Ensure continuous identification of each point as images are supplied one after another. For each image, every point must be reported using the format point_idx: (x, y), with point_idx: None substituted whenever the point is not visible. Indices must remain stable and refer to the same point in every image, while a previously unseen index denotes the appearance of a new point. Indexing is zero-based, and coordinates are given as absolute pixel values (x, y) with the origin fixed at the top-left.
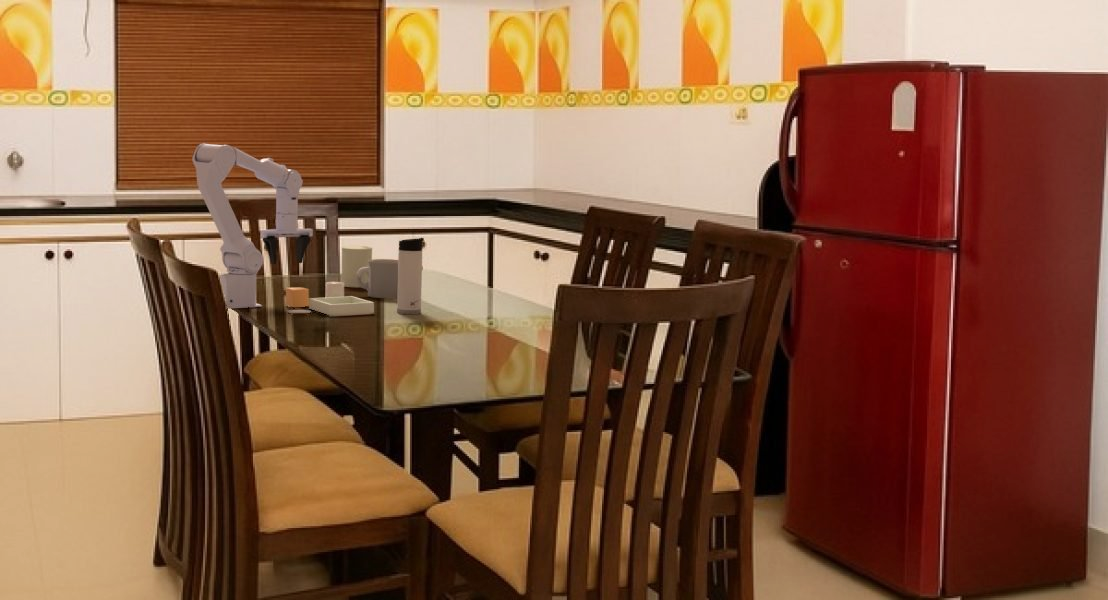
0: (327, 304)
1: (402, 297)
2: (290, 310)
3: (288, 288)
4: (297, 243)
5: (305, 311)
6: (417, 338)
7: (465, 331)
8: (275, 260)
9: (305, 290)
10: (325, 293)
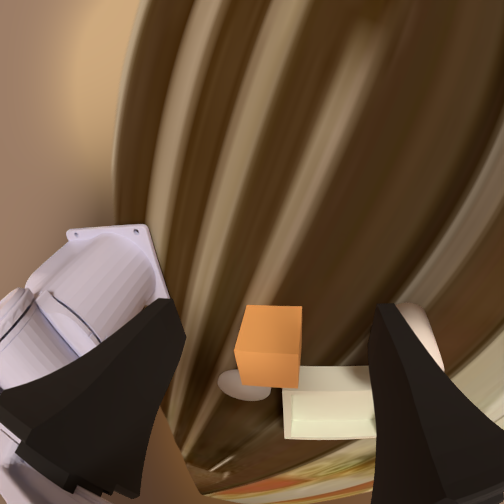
0: (284, 433)
1: None
2: (227, 376)
3: (238, 361)
4: (408, 455)
5: (256, 392)
6: (305, 480)
7: (374, 473)
8: (171, 360)
9: (286, 385)
10: None
